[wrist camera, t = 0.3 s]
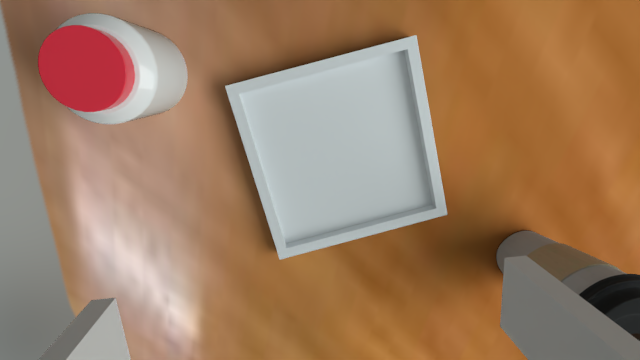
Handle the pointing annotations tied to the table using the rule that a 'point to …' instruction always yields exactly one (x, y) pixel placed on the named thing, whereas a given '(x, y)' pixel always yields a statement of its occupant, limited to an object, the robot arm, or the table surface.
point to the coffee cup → (581, 276)
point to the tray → (341, 146)
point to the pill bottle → (111, 69)
